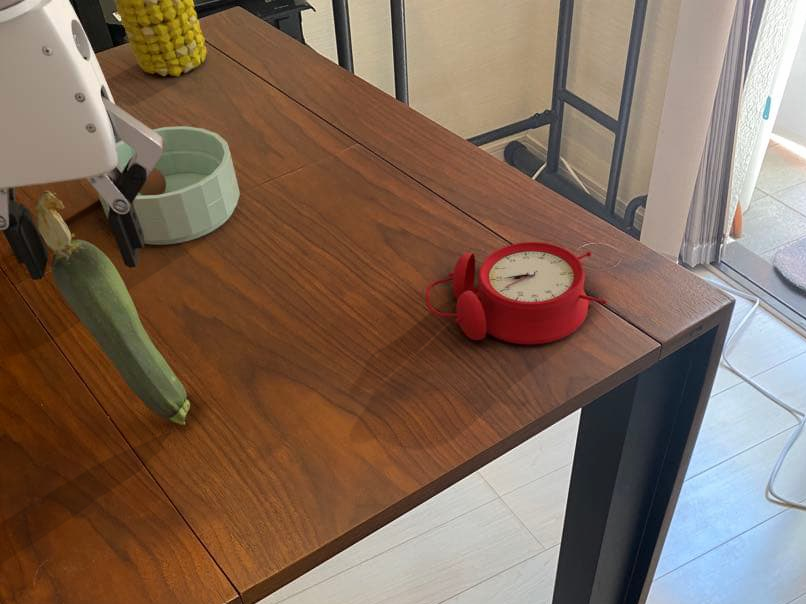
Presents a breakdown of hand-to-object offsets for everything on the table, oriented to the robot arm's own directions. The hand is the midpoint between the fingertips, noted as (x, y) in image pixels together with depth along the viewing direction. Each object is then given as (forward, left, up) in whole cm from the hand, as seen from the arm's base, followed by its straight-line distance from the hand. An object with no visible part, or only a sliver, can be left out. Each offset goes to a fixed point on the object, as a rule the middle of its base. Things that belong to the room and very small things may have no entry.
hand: (86, 260), depth 60 cm
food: (-49, +47, -15) cm, 70 cm away
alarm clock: (+18, +28, -15) cm, 37 cm away
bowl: (-22, +23, -15) cm, 35 cm away
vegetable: (+3, +1, -15) cm, 15 cm away
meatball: (-25, +23, -13) cm, 36 cm away
